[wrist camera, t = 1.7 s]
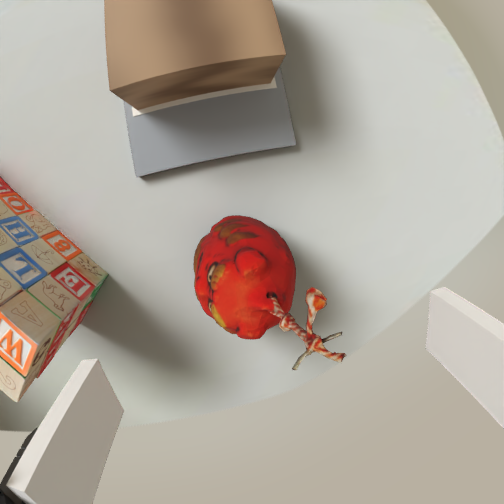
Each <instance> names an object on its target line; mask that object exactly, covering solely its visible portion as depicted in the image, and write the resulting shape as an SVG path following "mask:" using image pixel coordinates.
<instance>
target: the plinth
mask: <svg viewBox="0 0 504 504" xmlns="http://www.w3.org/2000/svg"><path fill="white" fill-rule="evenodd" d="M104 5H105V37H106V54H107V67H108V78H109V87H110V91H111V92H113V93H114V94H115V95H117V96H118V97H120V98H121V99H122V100H124V101H125V102H127V103H128V104H129V105H131V106H132V107H134V108H135V109H136V110H140V109H144V108H147V107H151V106H155V105H158V104H162V103H166V102H170V101H174V100H178V99H183V98H187V97H192V96H196V95H201V94H206V93H211V92H217V91H222V90H228V89H234V88H240V87H247V86H254V85H261V84H269V83H271V82H272V80H273V78H274V76H275V74H276V72H277V70H278V68H279V67H280V65H281V63H282V61H283V59H284V57H285V56H286V52H285V48H284V44H283V40H282V36H281V32H280V28H279V25H278V21H277V17H276V14H275V10H274V6H273V3H272V0H104Z"/></svg>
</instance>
